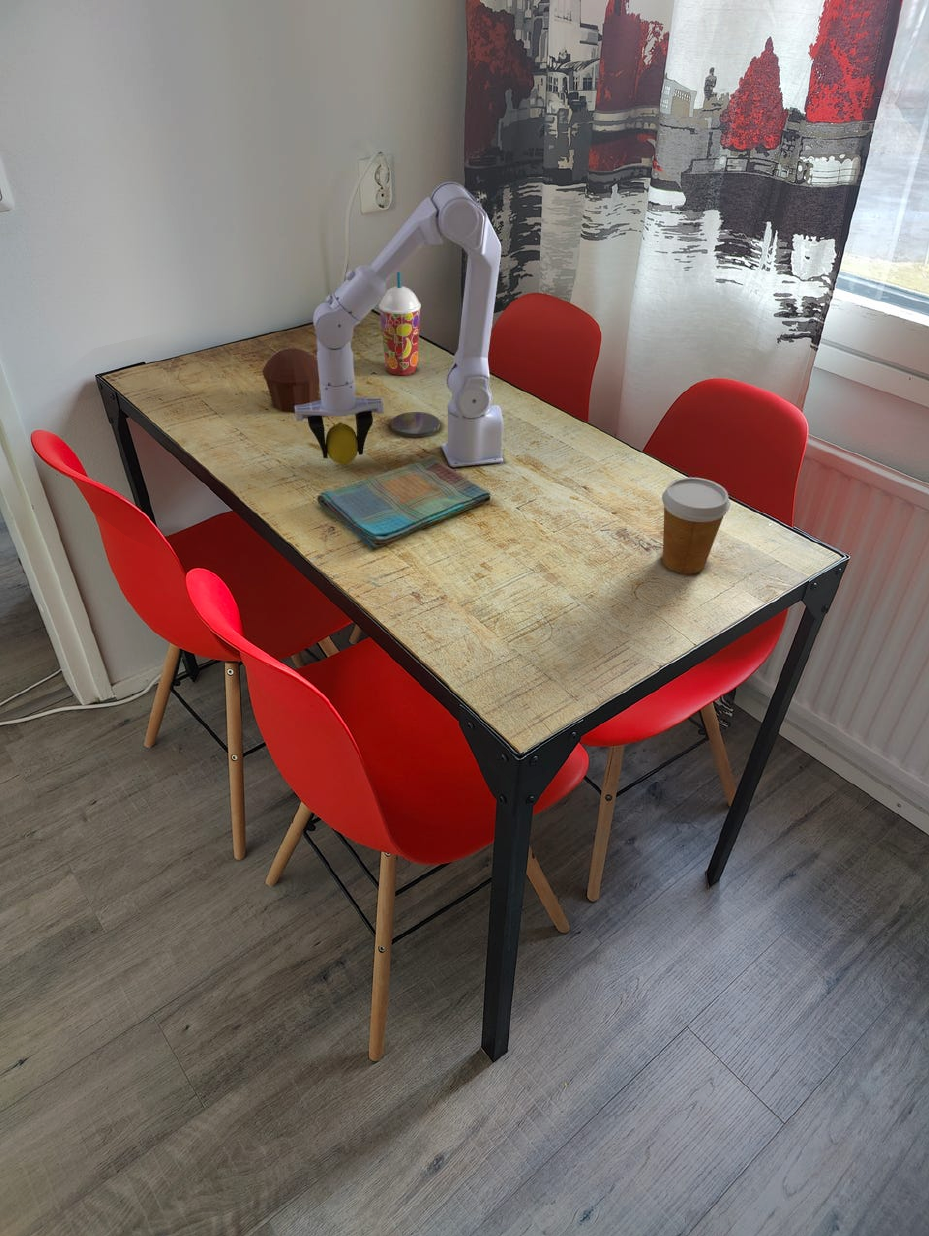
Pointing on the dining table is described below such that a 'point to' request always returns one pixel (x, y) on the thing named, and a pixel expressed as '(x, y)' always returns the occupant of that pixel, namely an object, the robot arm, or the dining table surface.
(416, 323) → the smoothie
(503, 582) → the dining table surface
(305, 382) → the muffin
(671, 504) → the disposable coffee cup
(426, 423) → the slate coaster
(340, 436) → the lemon
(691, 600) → the dining table surface
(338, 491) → the dish towel
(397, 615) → the dining table surface
